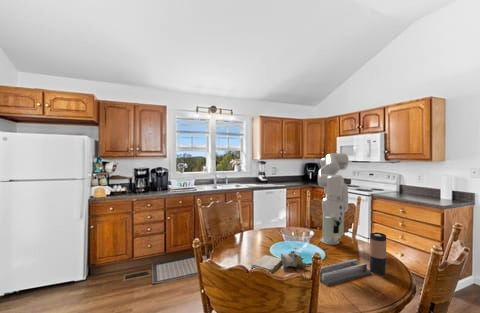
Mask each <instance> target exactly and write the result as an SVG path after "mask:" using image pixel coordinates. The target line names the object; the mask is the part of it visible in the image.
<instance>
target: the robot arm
mask: <svg viewBox="0 0 480 313" xmlns="http://www.w3.org/2000/svg"><path fill="white" fill-rule="evenodd" d="M349 160H350V159H349V157H348V155H347V153H343V152H342V153H341V152H337V153H336V152H335V153H334V152H333V153H332V152H331V153H328V154H326V155H325V157H322V158H321V159H320V161H319V162H320V169H319V170H318V173H317V184H318V185H319V187H320V188H323V192H324V194H325V195H326V197H324V198H322V200H321V209H322V218H323V217H327V216H329V217H333V220H334V225H335V226H334V233H339V226H340V224H341V223H344V224H345V213H346V212H347V211H348V210H349V186H348V185H347V183H346V182H345V178H344V177H343V176H342V175H341V174H337V173H338V172H340V171H344V170H346V169H347V167H348V166H349ZM339 239H342V235H337V236H330V237H326V236H323V235H322V237H321V238H320V239H319V241H320V242H321V243H322V244H326V245H332V246H335V245H338V244H340V241H339Z"/></svg>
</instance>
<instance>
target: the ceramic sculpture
mask: <svg viewBox="0 0 480 313" xmlns="http://www.w3.org/2000/svg"><path fill="white" fill-rule="evenodd" d="M280 258H281V261H282V266H283V267H284V268H288V267H293V268H301V269H306V268H309V267H311V265H310V264H307V263H306V262H303V260H304V257H302V256H301V255H300V254H299V253H298V252H295V251H294V250H291V251H290V252H289V253H288V254H285V253H281V254H280Z"/></svg>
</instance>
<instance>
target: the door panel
mask: <svg viewBox="0 0 480 313" xmlns="http://www.w3.org/2000/svg"><path fill="white" fill-rule="evenodd" d="M334 226H335V225H334V220H333V217H329V216H327V217H323V216H322V237H323V236H326V237H330V236H337V235H338V236H339V235H341V236H343V235H345V234H344V233H345V232H344V230H345V222H344V223H341V224H340V226H339V233H334Z"/></svg>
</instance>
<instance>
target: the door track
mask: <svg viewBox="0 0 480 313" xmlns="http://www.w3.org/2000/svg"><path fill="white" fill-rule="evenodd" d="M358 262H359V261H358V258H357V259H356V258H353V259H350V260H345V261H342V262H337V263H332V264H329V265H324V266H320V267H321V272H320V282H321V283H323V284H324V285H325V286H327V287H328V286H333V285H336V284H339V283H343V282H347V281H350V280H353V279H357V278H360V277H361V278H362V277H365V276H367V275H371V274H372V272H371V271H370V269H368V264H367V263H366V262H364V263H360V264H358ZM309 273H310V274H311V271H310V272H309Z"/></svg>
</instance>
